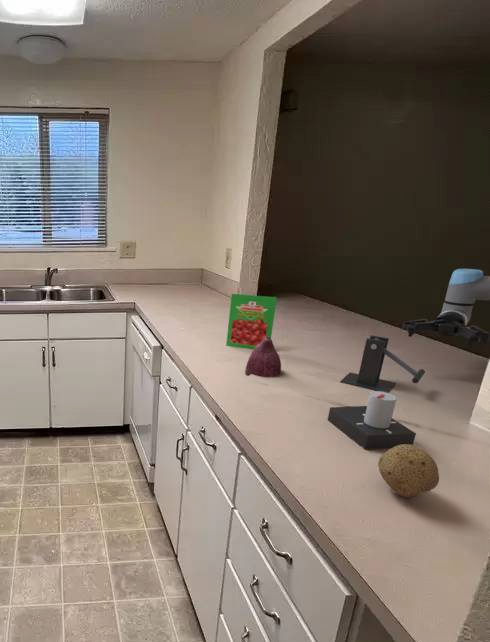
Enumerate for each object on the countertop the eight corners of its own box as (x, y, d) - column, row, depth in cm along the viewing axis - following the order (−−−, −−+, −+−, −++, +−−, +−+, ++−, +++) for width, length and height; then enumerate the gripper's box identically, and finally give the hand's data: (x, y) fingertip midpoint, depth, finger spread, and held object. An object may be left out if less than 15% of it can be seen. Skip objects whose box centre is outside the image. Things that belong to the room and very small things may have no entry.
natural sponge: (360, 482, 84) (371, 437, 81) (398, 475, 86) (410, 431, 83) (402, 512, 76) (416, 463, 73) (442, 504, 78) (458, 456, 74)
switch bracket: (394, 387, 127) (407, 338, 122) (386, 397, 120) (399, 347, 115) (349, 376, 135) (358, 330, 130) (338, 385, 128) (348, 338, 123)
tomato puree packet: (225, 346, 165) (231, 293, 158) (226, 345, 166) (231, 293, 159) (268, 351, 158) (276, 297, 151) (269, 350, 159) (276, 297, 152)
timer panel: (412, 447, 96) (416, 432, 95) (364, 449, 95) (368, 434, 94) (369, 418, 109) (372, 404, 108) (327, 419, 108) (330, 406, 107)
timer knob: (370, 416, 102) (377, 388, 100) (393, 424, 98) (401, 395, 96) (359, 422, 100) (366, 393, 97) (383, 430, 96) (390, 401, 93)
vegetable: (274, 391, 133) (287, 351, 124) (240, 381, 137) (250, 342, 128) (281, 373, 140) (293, 334, 131) (248, 364, 144) (258, 325, 135)
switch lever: (420, 376, 121) (427, 370, 120) (414, 385, 115) (421, 379, 114) (372, 340, 127) (379, 334, 126) (364, 347, 121) (371, 341, 120)
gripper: (499, 342, 130) (494, 358, 116) (400, 327, 147) (385, 340, 133) (507, 317, 127) (503, 332, 113) (405, 305, 144) (390, 316, 130)
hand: (439, 336), depth 123 cm, fingers open, 13 cm apart
